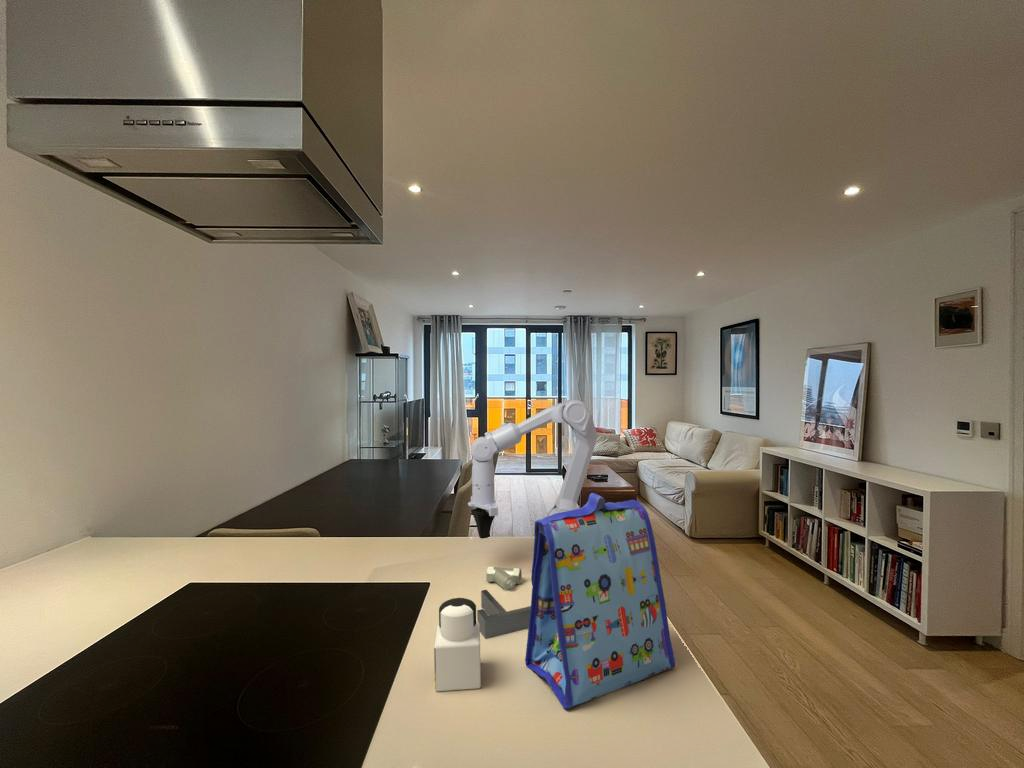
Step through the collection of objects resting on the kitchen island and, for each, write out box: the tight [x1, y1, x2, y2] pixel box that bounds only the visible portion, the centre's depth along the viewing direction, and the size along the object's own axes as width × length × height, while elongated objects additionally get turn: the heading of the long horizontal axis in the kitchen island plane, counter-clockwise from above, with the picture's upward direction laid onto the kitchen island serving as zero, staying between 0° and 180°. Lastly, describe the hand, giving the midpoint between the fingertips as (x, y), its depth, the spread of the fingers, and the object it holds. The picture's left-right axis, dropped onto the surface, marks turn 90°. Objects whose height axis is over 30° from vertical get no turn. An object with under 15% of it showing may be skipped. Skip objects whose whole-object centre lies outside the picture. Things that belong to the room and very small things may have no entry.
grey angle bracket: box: [476, 589, 531, 640], centre depth 97 cm, size 22×12×4 cm, turn 114°
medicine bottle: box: [433, 597, 482, 692], centre depth 75 cm, size 7×7×12 cm
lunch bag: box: [524, 492, 676, 710], centre depth 77 cm, size 22×14×29 cm, turn 117°
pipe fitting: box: [485, 566, 523, 591], centre depth 110 cm, size 8×4×7 cm
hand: (483, 537), depth 118 cm, fingers closed
